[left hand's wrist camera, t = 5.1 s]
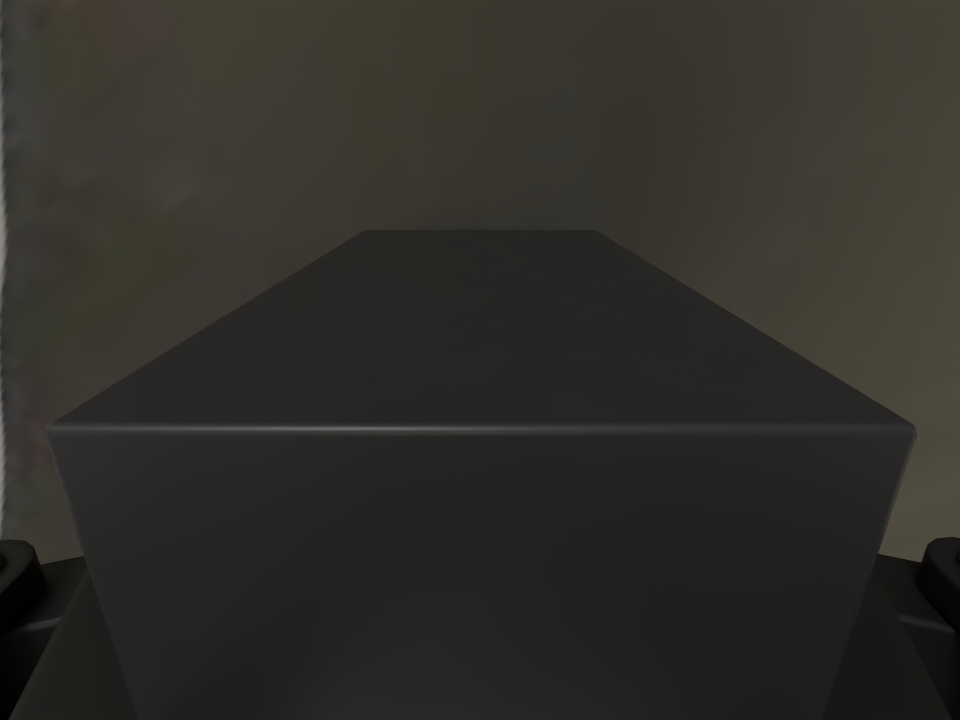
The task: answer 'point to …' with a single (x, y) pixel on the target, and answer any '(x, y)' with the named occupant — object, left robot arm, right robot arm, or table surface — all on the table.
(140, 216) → the table surface
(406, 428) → the box
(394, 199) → the table surface
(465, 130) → the table surface
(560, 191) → the table surface
